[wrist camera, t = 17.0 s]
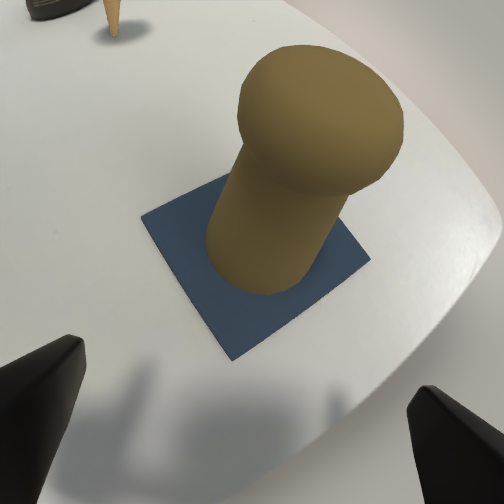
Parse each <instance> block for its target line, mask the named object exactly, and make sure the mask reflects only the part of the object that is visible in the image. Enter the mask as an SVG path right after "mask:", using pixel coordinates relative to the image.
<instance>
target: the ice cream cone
mask: <svg viewBox="0 0 504 504" xmlns="http://www.w3.org/2000/svg"><path fill="white" fill-rule="evenodd" d="M103 2H104V6H105V11H106V15H107V19H108V23H109V28H110V32H111V35H112V36H113V37H116V36H117V35H118V27H119V11H120V0H103Z"/></svg>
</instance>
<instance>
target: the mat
mask: <svg viewBox="0 0 504 504" xmlns="http://www.w3.org/2000/svg"><path fill="white" fill-rule="evenodd" d="M229 174H230V173H228V174H226V175H224V176H222V177H220V178H217V179H215V180H213V181H211V182H209V183H207V184H205V185H203V186H201V187H198V188H196V189H194V190H192V191H190V192H188V193H186V194H184V195H182V196H180V197H178V198H176V199H174V200H172V201H170V202H168V203H166V204H164V205H162V206H160V207H158V208H156V209H154V210H152V211H150V212H148V213H147V214H145V215H143V216H141V220H142V221H143V223H144V225H145V226H146V228H147V230H148V232H149V233H150V235H151V237H152V238H153V240H154V242H155V243H156V245H157V247H158V248H159V250H160V252H161V253H162V255H163V257H164V258H165V260H166V262H167V263H168V265H169V267H170V268H171V270H172V271H173V273H174V275H175V276H176V278H177V279H178V281H179V283H180V284H181V286H182V287H183V289H184V291H185V292H186V294H187V295H188V297H189V298H190V300H191V301H192V303H193V305H194V306H195V308H196V309H197V311H198V312H199V314H200V315H201V317H202V318H203V320H204V321H205V323H206V324H207V326H208V327H209V329H210V330H211V332H212V333H213V335H214V336H215V338H216V339H217V341H218V342H219V344H220V345H221V346H222V348H223V349H224V351H225V352H226V354H227V355H228V356H229V358H230V359H231V361H233V360H235V359H236V358H238V357H239V356H241V355H242V354H244V353H245V352H247V351H248V350H250V349H251V348H253V347H254V346H256V345H257V344H259V343H260V342H261V341H263V340H264V339H266V338H267V337H269V336H270V335H271V334H273V333H274V332H276V331H277V330H279V329H280V328H281V327H283V326H284V325H286V324H287V323H288V322H290V321H291V320H292V319H294V318H295V317H297V316H298V315H299V314H301V313H302V312H303V311H305V310H306V309H307V308H309V307H310V306H312V305H313V304H314V303H316V302H317V301H318V300H320V299H321V298H322V297H324V296H325V295H326V294H327V293H329V292H330V291H331V290H333V289H334V288H335V287H337V286H338V285H339V284H340V283H342V282H343V281H344V280H346V279H347V278H348V277H349V276H351V275H352V274H353V273H354V272H356V271H357V270H358V269H359V268H361V267H362V266H363V265H364V264H366V263H367V262H368V261H369V260H371V259H370V257H369V256H368V255H367V253H366V252H365V251H364V249H363V248H362V247H361V245H360V244H359V243H358V241H357V240H356V239H355V238H354V236H353V235H352V234H351V232H350V231H349V230H348V229H347V227H346V226H345V225H344V223H343V222H342V221H341V220H340V218H339V217H337V219H336V221H335V223H334V225H333V227H332V229H331V230H330V232H329V234H328V236H327V238H326V240H325V242H324V243H323V245H322V247H321V249H320V251H319V253H318V254H317V256H316V258H315V260H314V262H313V264H312V265H311V267H310V269H309V270H308V272H307V273H306V274H305V276H304V277H303V278H302V280H301V281H300V282H299V283H297V284H296V285H294V286H293V287H291V288H289V289H288V290H286V291H283V292H279V293H274V294H270V295H265V294H254V293H249V292H246V291H244V290H241V289H239V288H237V287H234V286H232V285H231V284H230V283H229V282H228V281H226V280H225V279H224V278H223V277H222V276H221V275H219V274H218V272H217V271H216V269H215V267H214V266H213V264H212V263H211V261H210V259H209V256H208V252H207V248H206V244H205V239H206V231H207V225H208V223H209V220H210V218H211V216H212V213H213V211H214V209H215V206H216V204H217V202H218V199H219V197H220V195H221V193H222V190H223V188H224V186H225V183H226V181H227V179H228V177H229Z"/></svg>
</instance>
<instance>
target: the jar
mask: <svg viewBox="0 0 504 504" xmlns="http://www.w3.org/2000/svg"><path fill="white" fill-rule="evenodd" d="M91 1H92V0H26V5H27V9H28V11H29V13H30V15H31V16H32V17H33V18H35V19H37V20H47V19H52V18H56V17H59V16H63V15H66V14H68V13H71V12H73V11H76V10H78V9H80V8H82V7H84V6H85V5H87V4H88V3H89V2H91Z"/></svg>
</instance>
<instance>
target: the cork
mask: <svg viewBox="0 0 504 504" xmlns="http://www.w3.org/2000/svg"><path fill="white" fill-rule="evenodd" d="M237 119H238V126H239V131H240V134H241V137H242V140H243V143H244V144H243V146H242V148H241V150H240V152H239V154H238V157H237V159H236V161H235V163H234V166H233V168H232V170H231V172H230V174H229V177H228V179H227V181H226V183H225V186H224V188H223V190H222V193H221V195H220V197H219V199H218V202H217V204H216V206H215V209H214V211H213V213H212V216H211V218H210V220H209V223H208V225H207V231H206V239H205V244H206V248H207V252H208V256H209V259H210V261H211V263H212V264H213V266H214V267H215V269H216V271H217V272H218V274H219V275H221V276H222V277H223V278H224V279H225V280H226V281H228V282H229V283H230V284H231V285H232V286H234V287H237V288H239V289H241V290H244V291H246V292H249V293H254V294H265V295H270V294H274V293H279V292H283V291H286V290H288V289H289V288H291V287H293V286H294V285H296V284H297V283H299V282H300V281H301V280H302V278H303V277H304V276H305V274H306V273H307V272H308V270H309V269H310V267H311V265H312V264H313V262H314V260H315V258H316V256H317V254H318V253H319V251H320V249H321V247H322V245H323V243H324V242H325V240H326V238H327V236H328V234H329V232H330V230H331V229H332V227H333V225H334V223H335V221H336V219H337V217H338V215H339V213H340V211H341V210H342V208H343V206H344V204H345V202H346V200H347V198H348V196H349V195H352V194H354V193H356V192H357V191H359V190H361V189H363V188H365V187H367V186H369V185H370V184H372V183H374V182H375V181H377V180H379V179H380V178H381V177H382V176H383V175H384V173H385V172H386V171H387V170H388V169H389V168H390V166H391V165H392V163H393V161H394V160H395V158H396V157H397V155H398V153H399V151H400V148H401V145H402V143H403V130H404V121H403V111H402V108H401V106H400V103H399V101H398V99H397V97H396V96H395V95H394V93H393V92H392V90H391V89H390V88H389V86H388V85H387V84H386V83H385V81H384V80H383V79H382V78H381V77H380V76H378V75H377V74H376V73H375V72H374V71H373V70H372V69H371V68H369V67H367V66H366V65H364V64H363V63H361V62H360V61H358V60H357V59H355V58H353V57H350V56H348V55H346V54H344V53H341V52H339V51H336V50H332V49H329V48H325V47H321V46H311V45H294V46H286V47H281V48H279V49H277V50H274V51H272V52H270V53H269V54H267V55H266V56H264V57H263V58H262V59H261V60H259V61H258V62H257V63H256V65H255V66H254V67H253V68H252V70H251V71H250V72H249V74H248V75H247V77H246V79H245V81H244V82H243V84H242V87H241V92H240V97H239V105H238V113H237Z"/></svg>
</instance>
